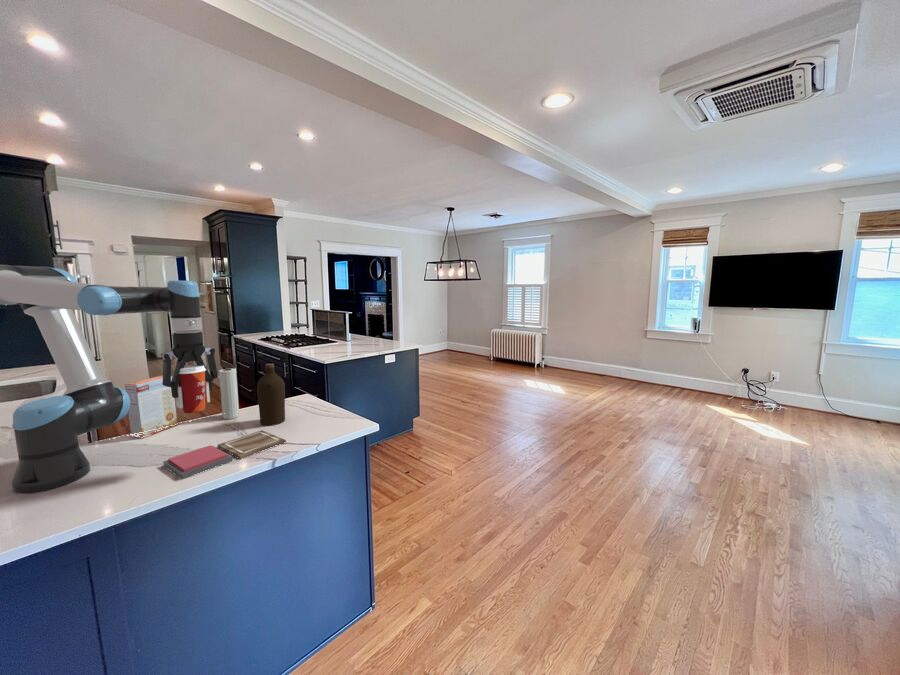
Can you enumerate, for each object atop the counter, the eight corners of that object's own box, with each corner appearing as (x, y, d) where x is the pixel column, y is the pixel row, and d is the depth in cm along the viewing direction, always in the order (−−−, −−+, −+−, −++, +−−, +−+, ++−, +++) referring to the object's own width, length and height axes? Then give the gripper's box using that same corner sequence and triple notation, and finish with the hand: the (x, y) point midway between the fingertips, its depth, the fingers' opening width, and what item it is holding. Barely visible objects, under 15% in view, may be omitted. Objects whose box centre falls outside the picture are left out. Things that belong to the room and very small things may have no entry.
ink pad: (163, 466, 112) (163, 459, 112) (212, 450, 124) (212, 443, 123) (182, 479, 105) (181, 471, 104) (232, 460, 116) (232, 453, 116)
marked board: (217, 447, 126) (217, 444, 126) (262, 432, 139) (262, 429, 139) (240, 459, 117) (240, 455, 117) (285, 442, 130) (285, 439, 130)
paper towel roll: (225, 420, 152) (221, 371, 149) (220, 417, 156) (217, 369, 153) (243, 416, 157) (240, 369, 154) (239, 413, 161) (235, 367, 158)
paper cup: (209, 411, 111) (205, 367, 109) (178, 416, 106) (174, 370, 105) (209, 404, 117) (205, 363, 115) (179, 409, 113) (176, 365, 111)
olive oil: (291, 421, 152) (288, 363, 149) (265, 428, 144) (262, 367, 140) (279, 415, 158) (276, 360, 155) (254, 422, 150) (250, 364, 147)
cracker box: (166, 424, 147) (161, 374, 145) (178, 425, 146) (173, 375, 143) (129, 437, 134) (123, 383, 131) (142, 438, 133) (136, 384, 130)
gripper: (151, 335, 98) (159, 415, 101) (227, 329, 115) (232, 398, 118) (142, 333, 103) (150, 410, 106) (216, 328, 119) (221, 394, 122)
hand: (193, 404), depth 112 cm, fingers closed on paper cup, 7 cm apart
